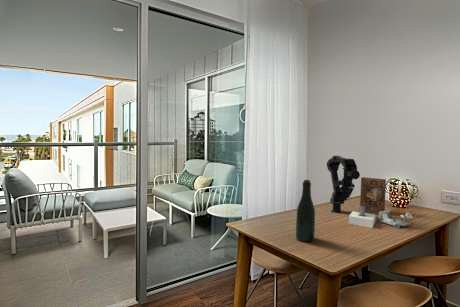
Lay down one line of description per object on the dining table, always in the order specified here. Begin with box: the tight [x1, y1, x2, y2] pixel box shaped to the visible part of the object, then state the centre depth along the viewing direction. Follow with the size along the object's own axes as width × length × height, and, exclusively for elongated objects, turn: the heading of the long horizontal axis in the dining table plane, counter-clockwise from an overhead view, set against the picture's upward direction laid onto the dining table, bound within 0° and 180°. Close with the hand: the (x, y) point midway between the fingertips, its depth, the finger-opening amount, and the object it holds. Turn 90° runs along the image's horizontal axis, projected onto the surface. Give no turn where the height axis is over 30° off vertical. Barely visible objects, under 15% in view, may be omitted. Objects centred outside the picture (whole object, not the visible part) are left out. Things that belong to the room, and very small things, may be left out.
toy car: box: [375, 210, 413, 229], centre depth 183 cm, size 18×10×12 cm
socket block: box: [348, 210, 376, 229], centre depth 185 cm, size 14×14×5 cm
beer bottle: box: [294, 179, 316, 243], centre depth 155 cm, size 10×10×33 cm
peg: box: [359, 205, 366, 217], centre depth 185 cm, size 3×3×10 cm
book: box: [359, 177, 387, 214], centre depth 211 cm, size 16×6×25 cm, turn 58°
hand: (346, 199), depth 195 cm, fingers open, 9 cm apart
